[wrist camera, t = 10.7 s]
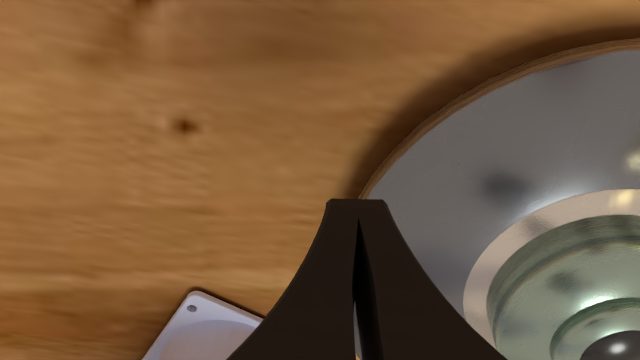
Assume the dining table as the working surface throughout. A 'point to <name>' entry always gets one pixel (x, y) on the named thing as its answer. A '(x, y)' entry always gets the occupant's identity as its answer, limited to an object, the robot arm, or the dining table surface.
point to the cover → (571, 293)
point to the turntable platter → (515, 167)
